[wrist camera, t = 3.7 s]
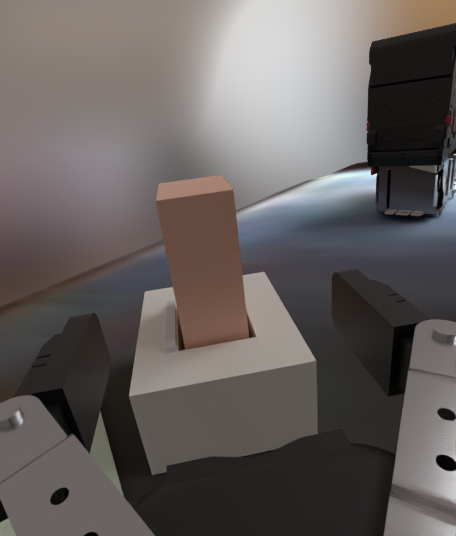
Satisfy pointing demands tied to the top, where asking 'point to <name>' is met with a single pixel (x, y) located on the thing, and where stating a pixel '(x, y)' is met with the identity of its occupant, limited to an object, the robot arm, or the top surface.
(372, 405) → the top surface
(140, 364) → the white square socket block
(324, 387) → the top surface
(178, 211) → the tall brown pillar
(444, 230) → the top surface
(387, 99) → the bill acceptor
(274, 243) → the top surface
